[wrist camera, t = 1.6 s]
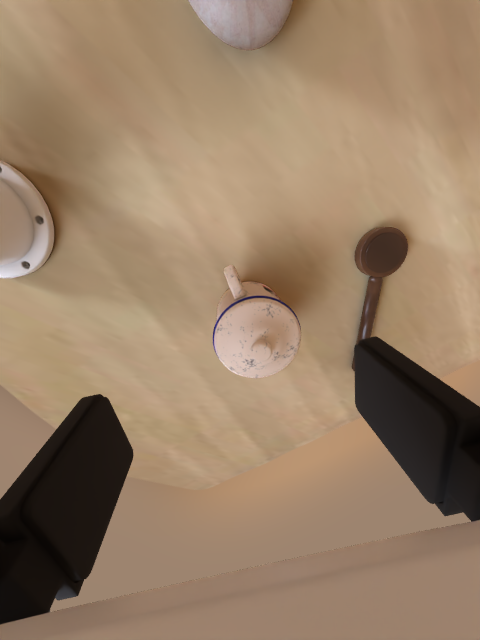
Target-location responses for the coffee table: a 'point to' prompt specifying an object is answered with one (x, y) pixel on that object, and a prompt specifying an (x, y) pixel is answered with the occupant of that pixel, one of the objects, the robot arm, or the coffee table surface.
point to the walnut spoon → (377, 269)
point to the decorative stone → (243, 20)
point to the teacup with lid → (254, 329)
